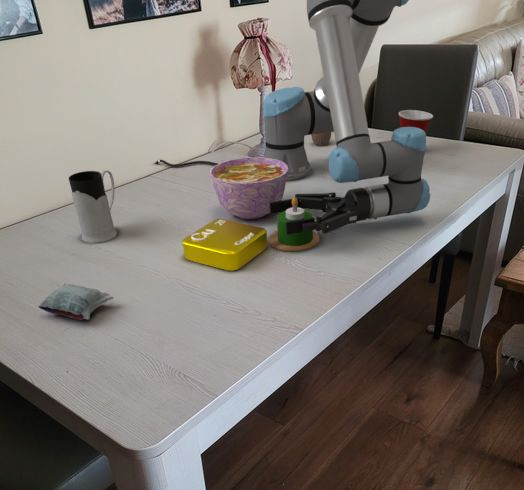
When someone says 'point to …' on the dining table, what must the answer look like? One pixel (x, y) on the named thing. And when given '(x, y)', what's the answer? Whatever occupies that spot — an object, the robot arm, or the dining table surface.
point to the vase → (321, 138)
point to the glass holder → (93, 205)
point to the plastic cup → (415, 119)
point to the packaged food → (74, 301)
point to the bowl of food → (249, 185)
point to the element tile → (225, 244)
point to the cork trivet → (277, 245)
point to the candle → (292, 215)
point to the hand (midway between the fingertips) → (277, 217)
